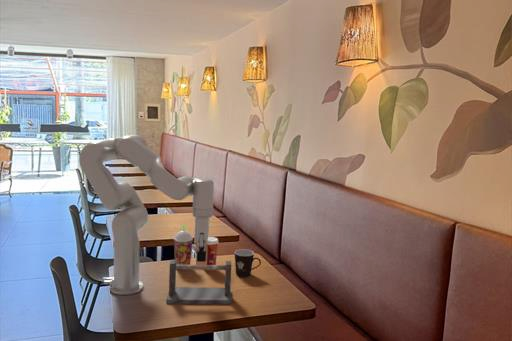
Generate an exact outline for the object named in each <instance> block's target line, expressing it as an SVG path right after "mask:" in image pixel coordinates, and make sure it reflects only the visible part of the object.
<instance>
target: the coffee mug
mask: <svg viewBox="0 0 512 341" xmlns="http://www.w3.org/2000/svg"><path fill="white" fill-rule="evenodd" d="M254 255H255V252H254V251H253V250H251V249H247V248H246V249H245V248H243V249H240V248H239V249H236V250H235V251H234V264H235V275H236V277H239V278H248V277H250V276H251V273H252V270H255V269H257V268H259V267H260V266H261V264H262V260H261V259H260V258H258V257H254ZM254 260H258V262H259V264H258V265H257V266H255V267H253V262H254Z"/></svg>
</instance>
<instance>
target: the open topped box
mask: <svg viewBox="0 0 512 341" xmlns="http://www.w3.org/2000/svg"><path fill="white" fill-rule="evenodd" d="M199 246H200V244H199ZM203 246H204V245H203ZM207 247H208V243H206V244H205V251H206V261H205V262H199V261H197V251H198V243H196V247H195V249H196V250H195V254H196V256H195V265H196V267H207Z"/></svg>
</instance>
